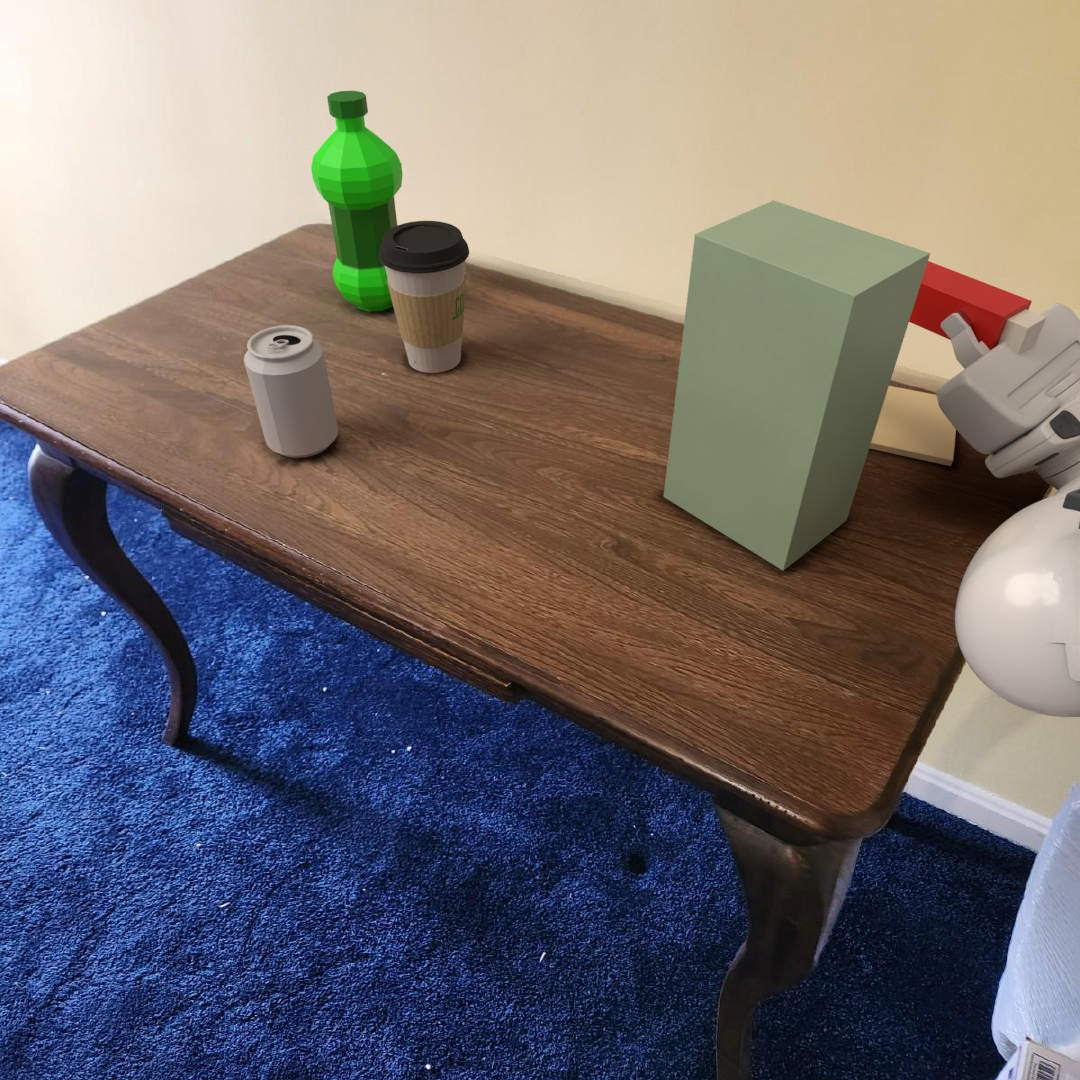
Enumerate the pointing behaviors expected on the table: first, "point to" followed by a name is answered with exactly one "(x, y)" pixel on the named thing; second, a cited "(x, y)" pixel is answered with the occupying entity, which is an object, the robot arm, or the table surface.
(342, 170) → the plastic bottle
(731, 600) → the table surface
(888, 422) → the mat
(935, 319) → the long red beam
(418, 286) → the coffee cup
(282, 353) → the can
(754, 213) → the stand
